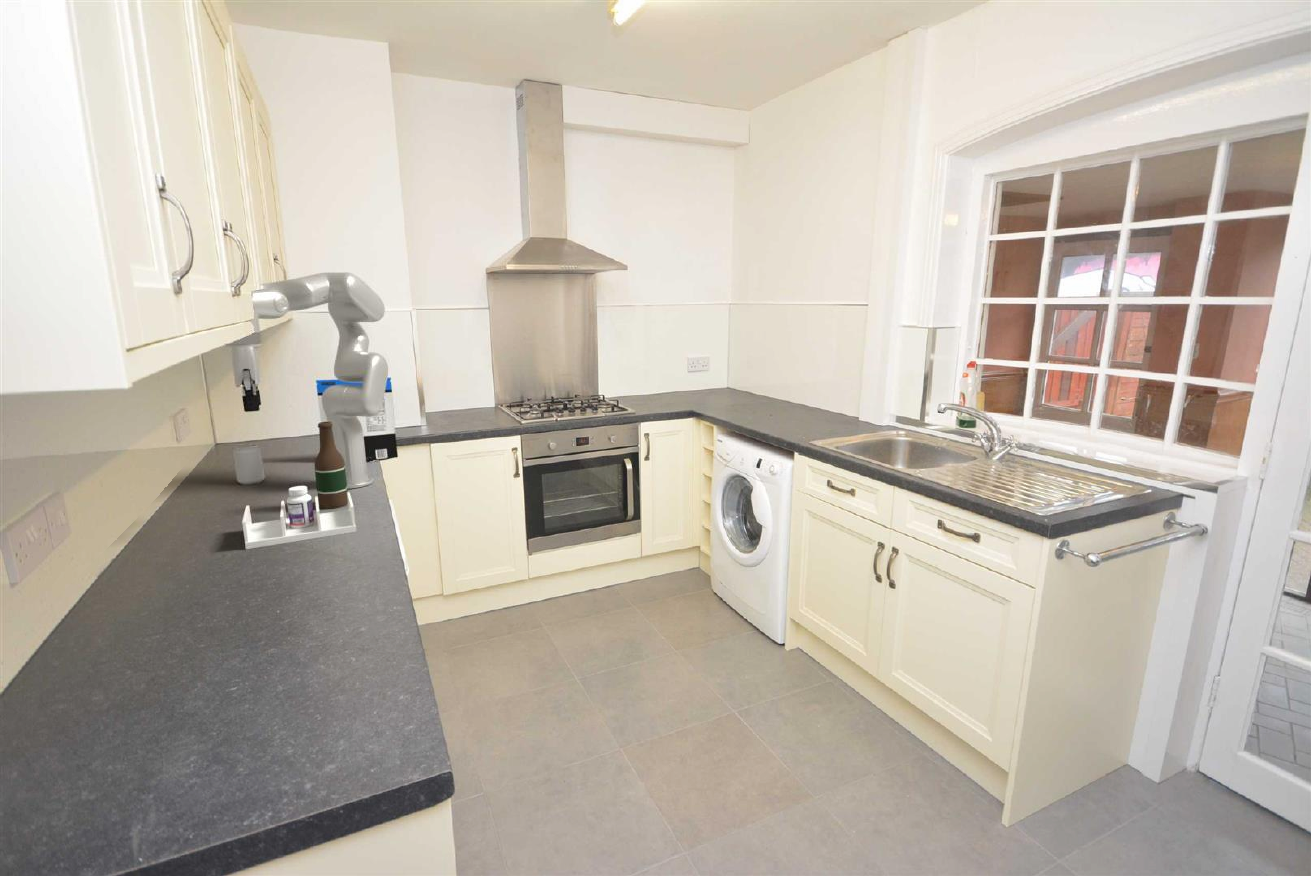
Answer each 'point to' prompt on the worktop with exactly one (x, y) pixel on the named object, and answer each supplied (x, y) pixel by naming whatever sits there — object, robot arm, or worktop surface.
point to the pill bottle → (300, 507)
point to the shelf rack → (284, 533)
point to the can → (248, 464)
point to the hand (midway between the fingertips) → (253, 408)
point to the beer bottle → (330, 471)
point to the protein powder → (371, 423)
